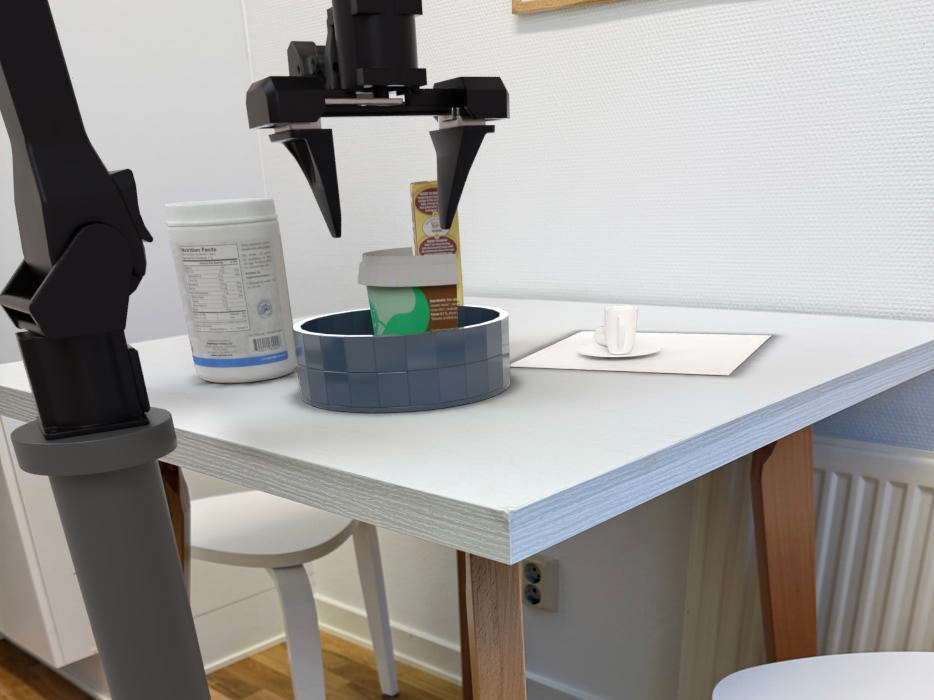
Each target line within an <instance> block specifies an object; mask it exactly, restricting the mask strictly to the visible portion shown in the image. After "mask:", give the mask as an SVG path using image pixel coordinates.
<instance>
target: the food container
mask: <svg viewBox="0 0 934 700" xmlns="http://www.w3.org/2000/svg"><path fill="white" fill-rule="evenodd" d="M361 260H362V261H360V262H359V264H358V274H357V275H358V276H357V284H359V285H362V286H366V292H367V298H368V299H367V300H368V304H369V308H370V311H371V317H372V323H373V329H374V335H388V334H407V333H419V332H430V331H439V330H446V329H454V328H458V313H457V284H460V282H459V273H458V265H457V263H456V254H442V255H422V256H415V255H414V248H413V246H406V247H393V248H385V249H384V248H383V249H378V250H371V251H366V252H363V253H361Z"/></svg>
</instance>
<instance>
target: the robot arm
mask: <svg viewBox="0 0 934 700" xmlns="http://www.w3.org/2000/svg"><path fill="white" fill-rule="evenodd" d="M423 11H424V10H423V0H331V7H329V8H326V31H327V33H326V39H325V45H323V44H321V45H318V44H316V42H314V41H311V40H310V41H309V40H308V41H307V40H291V41H290V42H289V44H288V47H287V49H286V54H287V64H288V65H287V66H288V67H287V68H288V75H269V76H267V77H263V78H261V79H259V80H257V81H255V82H252V83H251V84H250V86H249V87H248V89H247V91H246V92H245V108H246V115H247V121H248V129H249V130H273V132H274V133H270V134H268V135H267V136H268V138H269V141H270V143H272V144H277V143H278V144H281V145H283V146H284V147H285V149H286V150H287V151H288V152H289V154H290V155H291V156H292V157H293V159H294V160H295V162H296V163H297V165H298V167H299V168H300V170H301V172H302V173H303V176H304V177H305V179H306V182H307V184H308V185H309V187H310V190H311V192H312V194H313V197H314V199H315V201H316V203H317V206H318V208H319V211H320V213H321V215H322V217H323V220H324V222H325V224H326V227H327V229H328V231H329V234H330V236H331V237H332V238H333V239H341V238H342V209H341V208H342V207H341V199H340V198H341V197H340V189H339V180H338V170H337V163H336V152H335V143H334V134H333V128H323V125H322V119H349V118H350V119H353V118H359V119H360V118H405V117H406V118H408V117H409V118H410V117H415V118H417V117H433V119H434V120H435V121H436V122H437V123H438V129H435V130H429V131H428V133H429V137H430V140H431V142H432V145H433V148H434V151H435V156H436V180H437V195H438V214H439V221H440V227H441V229H442V230H449V229H450V228H451V225H452V222H453V219H454V216H455V213H456V210H457V207H458V206H459V204H460V202H461V201H460V200H461V198H462V195H463V193H464V189H465V185H466V183H467V179H468V176H469V174H470V171H471V169H472V167H473V164H474V163H475V160H476V157H477V155H478V152H479V150H480V149H481V146H482V143H483V142H484V139H485V137H486V135H489V134H490V135H491V134H495V133H496V124H487V123H491V122H493V123H494V122H499V121H505V120H510V119H511V112H510V111H511V109H510V106H511V105H510V92H509V91H508V89H507V87H506V85H505V83H504V81H503V79H502V78H501V76H457V77H453V78H449V79H446V80H442V81H438V82H434V83H433V85H432V88H428V87H427V88H425V87H424V86H428V77H427V76H428V74H427V73H428V72H427V68H426V67H419V59H418V58H419V57H418V56H419V55H418V43H417V29H416V18H419V17H422V16H423V15H424V12H423ZM421 87H424V88H421ZM390 95H395V96H396V97H390ZM0 114H1V117H2V121H3V122H4V127H5V130H6V132H7V136H8V139H9V143H10V148H11V157H12V178H13V180H12V181H13V203H14V208H15V214H16V215H15V216H16V220H17V226H18V227H17V228H18V232H19V233H18V234H19V238H20V246H21V251H22V255H23V259H22V260H21V262H20V264H19V265H18V266H17V268H16V269H15V271H14V272H13V274H12V275H11V276H10V278H9V280H8V281H7V283H6V285H5V286H4V287H3V289H2V290H1V291H0V307H1V308H2V310H3V312H4V313H5V314H6V315H7V317H8V319H9V320H10V322H11V323H12V325H13V327H15V328H16V329H18V330H24V331H17V332H14V335H15V338H16V342H17V345H18V349H19V353H20V356H21V357H20V358H21V360H22V363H23V368H24V371H25V374H26V378H27V381H28V384H29V388H30V391H31V396H32V399H33V402H34V406H35V410H36V414H37V415H36V416H35V420H37V423H38V426H39V428H40V430H41V432H42V435H43V437H44V439H45V440H57V439H63V438H70V437H76V436H82V435H89V434H95V433H101V432H108V431H114V430H121V429H127V428H133V427H140V426H146V425H149V424H150V422H149V417H148V416H147V415H146V414H145V413H146V412H149V410H150V409H151V408H150V407H151V404H150V399H149V395H148V390H147V386H146V385H147V384H146V381H145V377H144V372H143V368H142V362H141V359H140V354H139V350H138V349H136V348H135V347H133V345H131V344H129V343H127V338H126V334H125V330H126V328H127V320H128V313H129V312H128V311H129V305H130V296H131V295H132V294H133V293H134V292H136V291H137V289H138V288H139V286H140V284H141V282H142V280H143V278H144V277H145V275H146V273H147V267H148V262H147V261H148V260H147V253H146V247H145V245H144V243H153V242H154V237H153V236H152V234H151V232H150V231H149V230H148V228H147V226H146V225H145V222H144V219H143V217H142V214H141V210H140V207H139V205H140V204H139V199H138V190H137V183H136V179H135V176H134V172H133V170H132V169H131V168H123V169H115V170H109V169H108V168H107V167H106V165H105V163H104V162H103V160H102V158H101V157H100V156H99V154H98V152H97V150H96V149H95V147H94V145H93V144H92V141H90V138H89V136H88V133H87V130H86V128H85V124H84V121H83V117H82V114H81V110H80V107H79V104H78V99H77V97H76V92H75V90H74V86H73V83H72V79H71V75H70V72H69V68H68V65H67V61H66V58H65V55H64V51H63V47H62V44H61V41H60V38H59V34H58V30H57V27H56V23H55V20H54V16H53V12H52V9H51V6H50V2H49V0H0ZM458 208H459V207H458Z"/></svg>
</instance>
